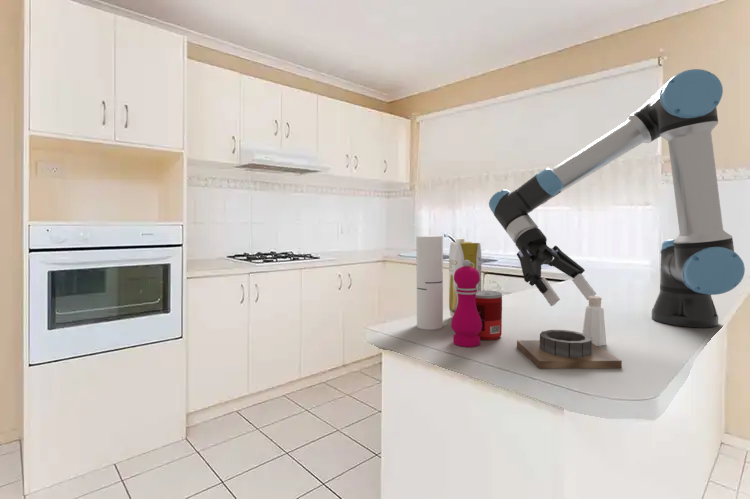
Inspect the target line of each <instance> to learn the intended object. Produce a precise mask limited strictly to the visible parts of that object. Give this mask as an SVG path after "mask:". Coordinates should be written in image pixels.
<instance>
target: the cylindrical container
mask: <svg viewBox="0 0 750 499" xmlns="http://www.w3.org/2000/svg"><path fill="white" fill-rule="evenodd" d="M415 242H416V328H418V329H421V330H430V331H431V330H432V331H433V330H434V331H435V330H440V329H442V328H443V327H444V324H443V323H444V319H443V318H444V316H443V315H444V303H443V302H444V296H443V295H444V282H443V281H444V277H443V276H444V236H443V235H431V234H430V235H416V241H415Z"/></svg>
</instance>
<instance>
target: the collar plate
mask: <svg viewBox="0 0 750 499" xmlns="http://www.w3.org/2000/svg"><path fill="white" fill-rule="evenodd" d="M516 348H518V349H519V351H521V353H523V354H524V355H525V356H526V357H527V358H528V359H529V360H530V361H531V362H532V363H533V364H534V365H535V366H536V367H537V368H538V369H622V366H623V363H622V362H623V361H622V360H621V359H620V358H618V357H617V356H614V355H613V354H611V353H610V352H608V351H606V350H604V349H603V348H601V346H596V345H595V344H593V343H592V337H590V336H588V335H587V334H583V332H579V331H574V330H567V329H547V330H542V331H541V332H540V334H539V340H538V339H537V340H535V339H532V340H530V339H529V340H527V339H525V340H521V339H520V340H516Z"/></svg>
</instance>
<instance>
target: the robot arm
mask: <svg viewBox="0 0 750 499" xmlns="http://www.w3.org/2000/svg"><path fill="white" fill-rule="evenodd" d="M723 93H724V90H723V84H722V82H721V80H720V78H719V77H718V76H717V75H716V74H715V73H712V72H710V71H708V70H705V69H703V68H702V69H700V68H692V69H691V68H690V69H687V70H684V71H681V72H679V73H677V74H676V75H674V76H672V77H671V78H669V79H667V80H666V82H665V83H664V84H663V85H662V87H661V88H660V89H658V90H657V92H655V93H654V94H653V95H652V96H651V97H650V99H648V100H647V101H646V102H645V103H644V104H643V105H642V106H641V107H639V108H637V110H636V111H634V112H632V113H631V114H629V115H628V117H627V120H626V121H625V122H623V123H621V124H620V125H618V126H617V127H615V128H614V129H612V130H610V131H609V132H607V133H606V134H604V135H603V136H601V137H600V138H598V139H596V140H594V141H593V142H592V143H590V144H588V145H587V146H586V147H584V148H582V149H581V150H580V151H578V152H576V153H575V154H573V155H571V156H570V157H568V158H567V159H565V160H563V161H561V163H559V164H557V165H556V166H554V167H552V168H549V167H545V168H544V169H543V170H541V171H539V172H537V173H536V174H535V175H534V176H532V177H531V178H530V179H529V180H528V179H527V181H526V182H524V183H523V184H522V185H521V186H519V187H518V188H517V189H514V190H512V191H510V190H508V189H501V190H500V191H497V192H495V193H494V194H493V195H492V196H491V198H490V199H489V201H488V208H490V209H489V210H491V212H492V214H493V216H494V218H496V220H497V221H498V223H499V224H500V225H501V227H502V228H503V230H504V231H505V232H506V234H507V235H508V236H509V238H510V239H511V240H512V242H513V243H514V244H515V246H516V248H517V249H518V252H517V253H516V256H517V258H518V259H519V262H520V266H521V272H522V276H523V279H524V282H526V283H528V284H529V285H530V286H532V287H533V286H534V285H535V287H536V288H537V289H538V291H539V292H540V293H541V294H542V295H543V297H544V298H545V300H546V301H547V303H548V305H550V307H553V306H555V305H556V304H557V303H558V302H559V301H561V298H560V296H558V294H557V293H556V291H555V290H554V288H553V287H552V286H551V284H550V283H549V282H548V280H547V279H546V278H545V277H542V266H543V265H546V266H550V267H554V268H556V269H557V270H559V271H560V272H562V273H563V274H565V275H567V276H568V277H570V278H572V280H571V281H572V282H573V284H574V285H575V286H576V288H577V289H578V290H579V291H580V293H581V294H582V295H583V297H584V299H586V300H587V301H589V299H588V297H589V296H597V292H596V291H595V290H594V288H593V287H592V286H591V285H590V284H589V282H588V281H587V280H586V279H585V277H584V276H583V273H584V272H585V268H583V267H582V266H581V264H578V263H577V261H574V260H573V259H572V258H571V257H569V255H567V254H566V253H564V252H563V251H562V250H561V249H560V248H559V246H557V245H554V246H553V247H550V246H548V245H547V241H548V239H547V236H546V235H545V234H544V233H543V231H542V230H541V229H540V228H539V226H538V225H537V224H536V222H535V221H534V220H533V218H531V216H530V215H529V214H530V213H531V212H533V211H534V210H535V209H537V208H538V207H540V206H542V205H544V204H546V203H547V202H548V201H549V200H552V199H554V197H557V196H558V195H560V194H561V193H562V192H564V191H565V190H567V189H569V188H571V187H572V186H574V185H575V184H577V183H578V182H580V181H582V180H584V179H585V178H587V177H589V176H590V175H592V174H593V173H595V172H597V171H599V170H600V169H602V168H604V167H605V166H607V165H609V164H610V163H611V162H613V161H615V160H617V159H619V158H620V157H622V156H623V155H625V154H626V153H628V152H630V151H631V150H634V149H635V148H636V147H638V146H639V145H641V144H650V143H652V142H653V141H656V140H657V139H658V138H659V139H660V137H661V138H663V139H665V140H666V141H667V143H668V150H669V151H668V152H669V159H670V160H669V161H670V165H671V176H672V183H673V191H674V199H675V208H676V214H677V225H678V231H679V234H678V236H677V237H676V238H672V239H666V240H664V241H663V242H662V244H661V249H660V271H659V272H660V273H659V274H660V276H659V277H660V278H659V294H658V295H657V298H656V300H655V302H654V304H653V308H652V310H651V319H652V320H654V321H656V322H659V323H662V324H663V323H664V324H667V325H671V326H679V327H687V328H688V327H689V328H714V327H718V326H719V315H718V312H717V308H716V307H715V304H714V301H713V299H712V296H714V295H715V296H716V295H721V294H726V293H727V292H730V291H732V290H733V289H736V287H737V286H739V284H740V283H741V282H742V280H743V279H744V276H745V272H746V271H745V269H746V268H745V263H744V261H743V259H742V258H741V257H740V255H739V254H738V253H737V252H735V247H734V241H733V236H732V235H731V234H730V233H728V232H727V231H726V230H724V225H723V217H722V210H721V209H722V208H721V201H720V194H719V193H720V192H719V187H718V186H719V185H718V176H717V170H716V162H715V153H714V146H713V145H714V144H713V138H712V137H713V136H712V132H713V130H714V128H716V126H717V125H718V124H719V118H718V110H717V109H718V108H717V107H718V106H719V104H720V102H721V100H722V97H723Z"/></svg>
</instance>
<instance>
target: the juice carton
mask: <svg viewBox="0 0 750 499" xmlns="http://www.w3.org/2000/svg"><path fill="white" fill-rule="evenodd" d="M481 246H482V245H481V243H480V242H472V241H465V238H464V237H460V238H455V241H452V242H450V246H449V254H448V256H449V257H448V258H449V259H448V277H449V278H448V283H449V284H448V292H449V293H448V308H449V309H448V310H449V314H450V317H451V318H453V315H454V313H455V311H456V308H457V305H458V293H456V291H457V290H456V287H457V284H456V283H455V281H454V273H455V271H456V270H457V269H458V268H460V267H463V266H464V265H463V262H464V261H465V260H469V261H470V262H471V265H470V267H473V268H475V269H476V270H477V271H478V272H479V275H480V281H479V283H478V284H477V285H476V287H477V288H478V289H477V291H482V248H481Z"/></svg>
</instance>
